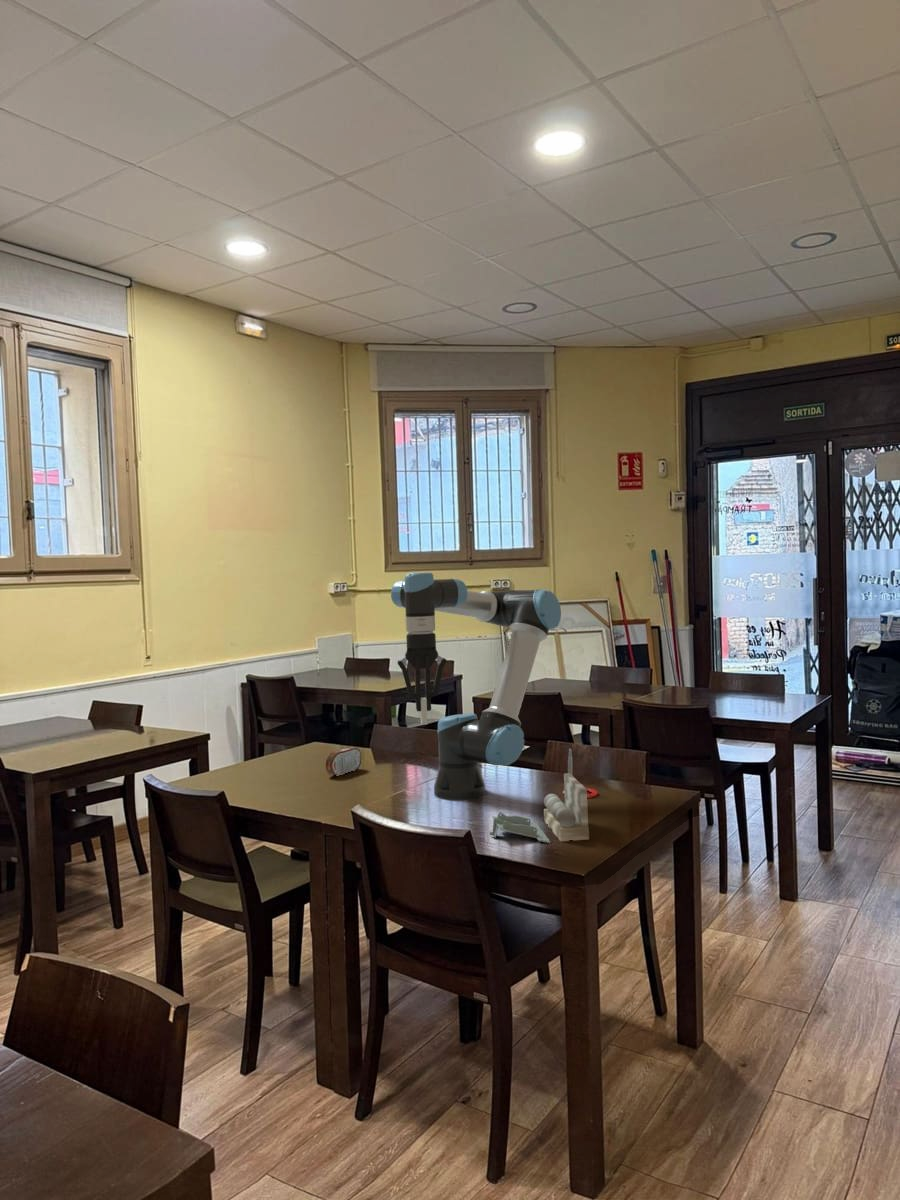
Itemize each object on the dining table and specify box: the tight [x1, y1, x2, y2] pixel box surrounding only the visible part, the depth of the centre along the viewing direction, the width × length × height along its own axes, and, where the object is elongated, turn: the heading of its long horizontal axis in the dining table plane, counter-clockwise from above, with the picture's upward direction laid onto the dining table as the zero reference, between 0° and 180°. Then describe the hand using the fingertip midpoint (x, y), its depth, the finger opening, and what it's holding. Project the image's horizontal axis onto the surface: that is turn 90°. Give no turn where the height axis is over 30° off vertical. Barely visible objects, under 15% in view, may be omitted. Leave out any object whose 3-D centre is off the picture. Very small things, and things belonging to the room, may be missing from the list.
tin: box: [325, 745, 362, 776], centre depth 271 cm, size 15×3×8 cm, turn 144°
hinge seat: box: [543, 772, 590, 842], centre depth 205 cm, size 17×7×12 cm, turn 7°
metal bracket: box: [489, 811, 551, 844], centre depth 202 cm, size 14×6×15 cm
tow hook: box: [561, 748, 599, 797], centre depth 236 cm, size 8×13×9 cm
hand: (424, 723), depth 212 cm, fingers closed
